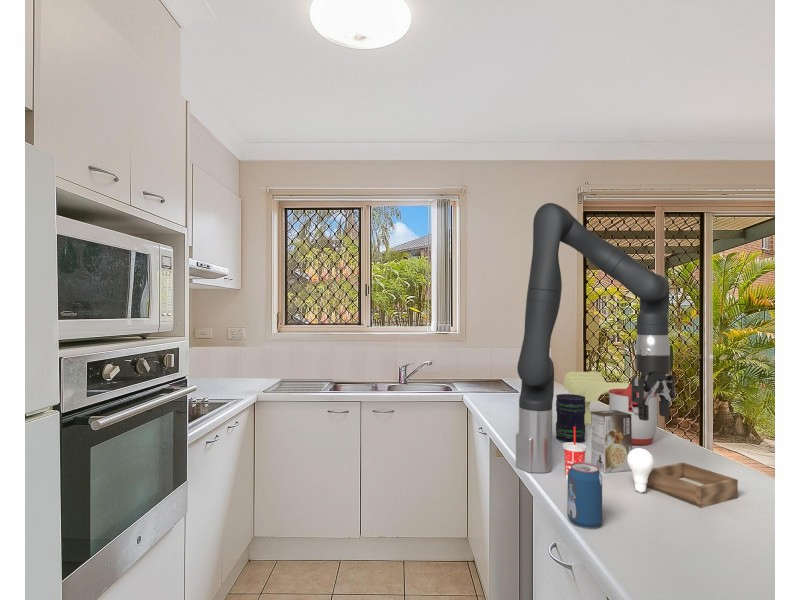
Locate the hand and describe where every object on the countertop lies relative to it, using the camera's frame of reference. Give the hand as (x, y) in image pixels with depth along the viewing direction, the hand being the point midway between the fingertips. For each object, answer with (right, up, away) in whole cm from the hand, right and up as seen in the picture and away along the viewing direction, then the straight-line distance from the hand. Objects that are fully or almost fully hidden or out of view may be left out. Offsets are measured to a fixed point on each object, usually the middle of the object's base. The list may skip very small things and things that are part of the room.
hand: (654, 418), depth 120 cm
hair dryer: (+16, -20, +78) cm, 83 cm away
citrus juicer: (+17, -20, +46) cm, 53 cm away
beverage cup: (-16, -19, +10) cm, 27 cm away
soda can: (-24, -19, -17) cm, 35 cm away
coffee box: (-3, -19, +18) cm, 27 cm away
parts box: (+10, -19, +1) cm, 21 cm away
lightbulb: (-3, -19, 0) cm, 19 cm away
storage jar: (-4, -20, +49) cm, 53 cm away
